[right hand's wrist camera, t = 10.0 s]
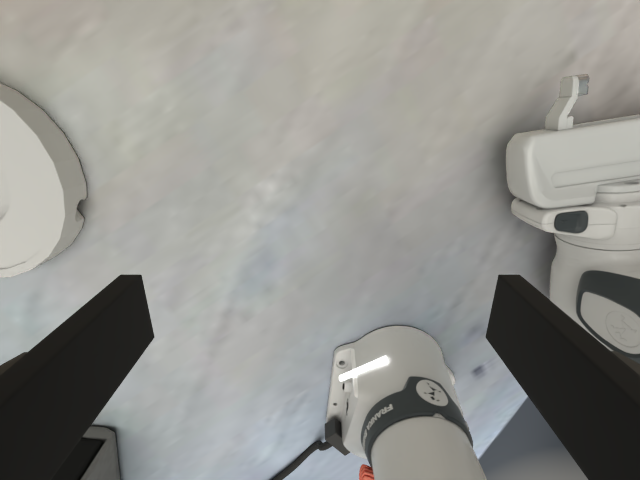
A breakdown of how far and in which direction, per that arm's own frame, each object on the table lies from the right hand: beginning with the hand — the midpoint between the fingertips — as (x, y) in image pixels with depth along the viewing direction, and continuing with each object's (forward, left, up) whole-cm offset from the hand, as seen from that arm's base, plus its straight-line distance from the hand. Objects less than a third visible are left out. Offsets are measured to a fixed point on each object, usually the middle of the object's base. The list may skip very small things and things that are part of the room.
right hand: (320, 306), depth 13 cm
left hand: (-9, +29, -25) cm, 39 cm away
